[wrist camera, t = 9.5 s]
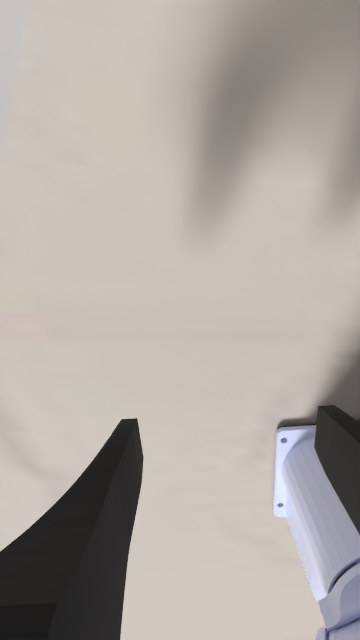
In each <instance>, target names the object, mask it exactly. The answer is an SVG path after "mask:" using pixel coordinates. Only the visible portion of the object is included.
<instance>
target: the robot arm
mask: <svg viewBox="0 0 360 640" xmlns="http://www.w3.org/2000/svg"><path fill="white" fill-rule="evenodd" d="M282 438H285V439H283V440H281V439H282ZM142 470H143V453H142V446H141V440H140V433H139V427H138V421H137V418H136V419H122V420H121V421H120V422H119V424H118V425H117V427H116V428H115V430H114V431H113V433H112V434H111V436H110V437H109V439H108V440H107V442H106V443H105V445H104V446H103V447H102V449H101V450H100V451H99V453H98V454H97V456H96V457H95V458H94V460H93V461H92V462H91V464H90V465H89V466H88V467H87V468H86V470H85V471H84V472H83V473H82V475H81V476H80V477H79V478H78V479H77V481H76V482H75V483H74V484H73V485H72V486H71V487H70V488H69V490H68V491H67V492H66V493H65V494H64V495H63V496H62V497H61V498H60V499H59V500H58V501H57V502H56V503H55V504H54V505H53V506H52V507H51V508H50V509H49V510H48V511H47V512H46V513H45V514H44V515H43V516H42V517H41V518H40V519H38V520H37V521H36V522H35V523H34V524H33V525H32V526H31V527H30V528H29V529H27V530H26V531H25V532H24V533H23V534H22V535H20V536H19V537H18V538H17V539H16V540H14V541H13V542H12V543H11V544H9V545H8V546H7V547H6V548H4V549H3V550H2V551H1V552H0V640H120V633H121V622H122V611H123V600H124V590H125V580H126V570H127V561H128V554H129V547H130V541H131V536H132V531H133V526H134V520H135V515H136V510H137V505H138V499H139V494H140V488H141V482H142ZM273 512H274V515H275V516H277V517H287V520H288V523H289V526H290V529H291V532H292V535H293V537H294V540H295V543H296V546H297V549H298V552H299V555H300V558H301V561H302V564H303V566H304V569H305V572H306V575H307V578H308V581H309V584H310V587H311V589H312V592H313V594H314V596H315V598H316V600H317V602H318V604H319V607H320V610H321V613H322V616H323V618H324V621H325V624H326V625H325V626H323V627H321V628H320V629H319V630H318V632H317V635H316V640H360V422H358V421H356V420H355V419H354V418H352V417H351V416H349V415H348V414H346V413H345V412H343V411H342V410H340V409H339V408H337V407H336V406H334V405H331V406H318V414H317V424H316V425H309V426H294V427H282V428H279V429H278V430H277V433H276V454H275V476H274V498H273Z"/></svg>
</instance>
